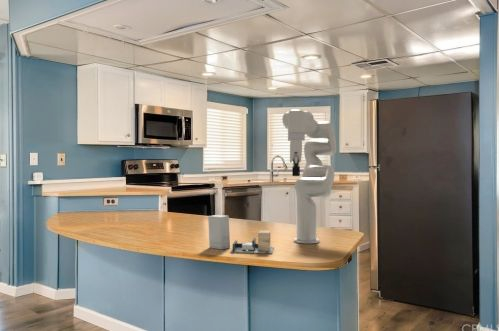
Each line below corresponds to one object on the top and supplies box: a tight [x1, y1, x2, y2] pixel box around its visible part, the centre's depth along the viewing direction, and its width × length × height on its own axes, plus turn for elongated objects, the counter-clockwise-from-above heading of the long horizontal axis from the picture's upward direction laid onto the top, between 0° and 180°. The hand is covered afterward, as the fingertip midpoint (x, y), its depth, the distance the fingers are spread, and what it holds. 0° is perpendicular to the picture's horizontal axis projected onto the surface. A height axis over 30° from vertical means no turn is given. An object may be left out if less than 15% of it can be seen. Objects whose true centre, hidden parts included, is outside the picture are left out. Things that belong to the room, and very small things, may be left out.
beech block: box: [257, 230, 271, 251], centre depth 189 cm, size 5×5×8 cm
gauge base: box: [230, 240, 275, 255], centre depth 190 cm, size 12×18×4 cm, turn 83°
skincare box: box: [207, 214, 231, 250], centre depth 195 cm, size 8×6×15 cm
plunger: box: [242, 237, 257, 251], centre depth 189 cm, size 9×6×4 cm, turn 173°
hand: (296, 175), depth 192 cm, fingers open, 9 cm apart
